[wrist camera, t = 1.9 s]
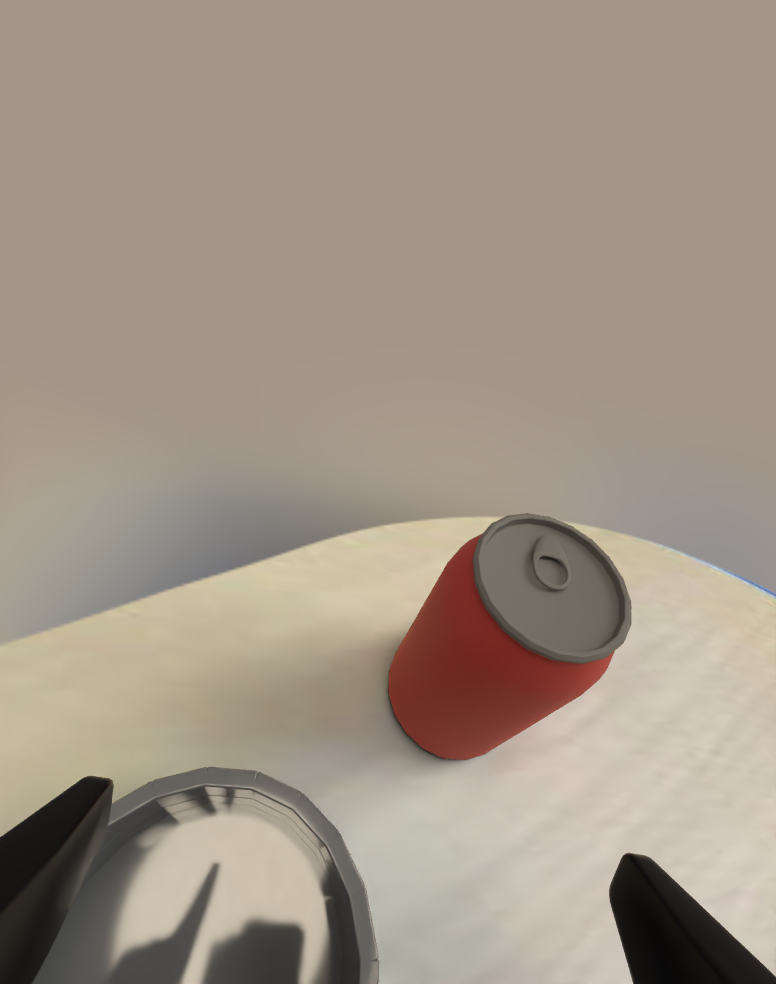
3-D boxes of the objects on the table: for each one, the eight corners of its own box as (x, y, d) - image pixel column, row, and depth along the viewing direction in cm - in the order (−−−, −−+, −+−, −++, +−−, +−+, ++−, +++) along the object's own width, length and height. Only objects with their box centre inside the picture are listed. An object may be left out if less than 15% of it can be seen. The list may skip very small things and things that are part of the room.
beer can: (507, 649, 27) (631, 528, 18) (505, 778, 23) (668, 704, 14) (397, 618, 27) (467, 481, 18) (373, 743, 22) (450, 644, 13)
